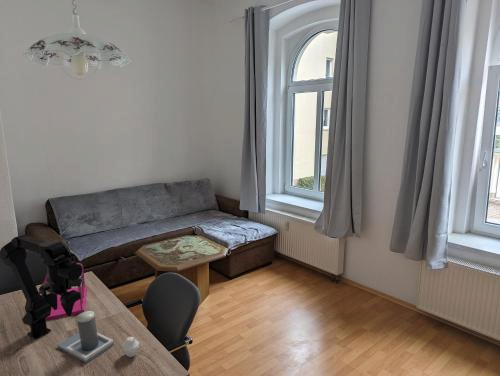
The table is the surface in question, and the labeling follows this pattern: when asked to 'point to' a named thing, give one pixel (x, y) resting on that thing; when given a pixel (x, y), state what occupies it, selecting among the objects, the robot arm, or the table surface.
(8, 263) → the robot arm
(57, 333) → the table surface
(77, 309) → the file sorter
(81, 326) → the grey cup with lid
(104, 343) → the charging board
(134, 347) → the muffin
